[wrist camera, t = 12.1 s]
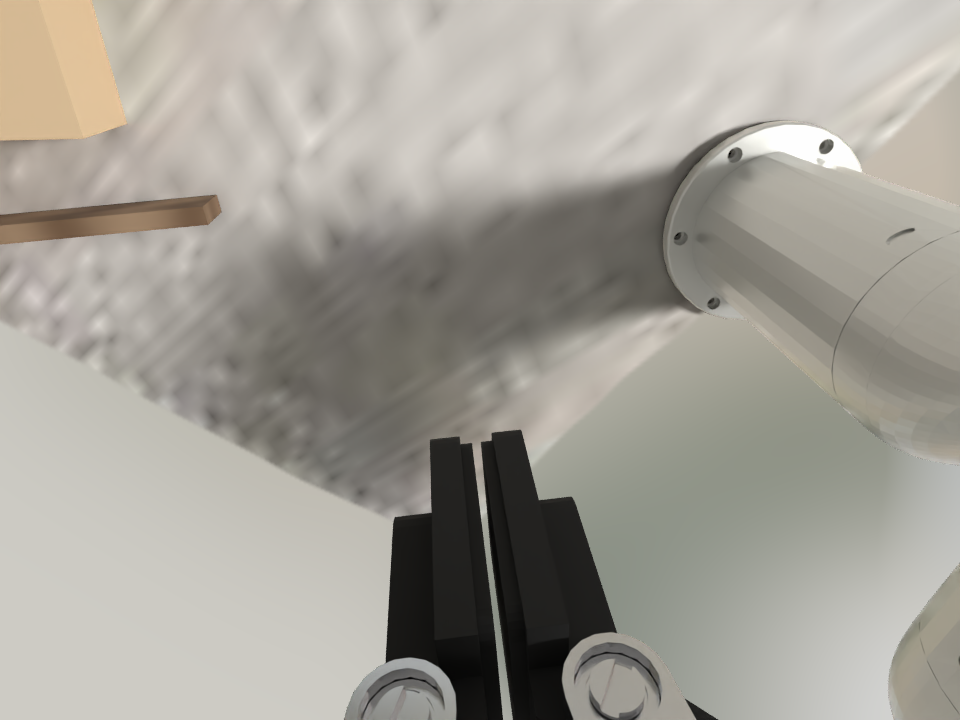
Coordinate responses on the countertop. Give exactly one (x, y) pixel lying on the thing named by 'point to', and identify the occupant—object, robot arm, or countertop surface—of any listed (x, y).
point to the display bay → (108, 219)
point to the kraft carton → (54, 72)
